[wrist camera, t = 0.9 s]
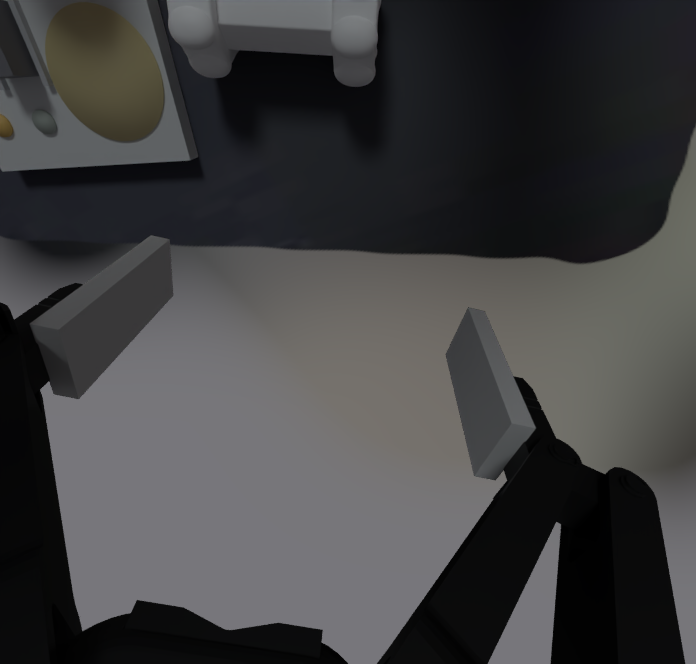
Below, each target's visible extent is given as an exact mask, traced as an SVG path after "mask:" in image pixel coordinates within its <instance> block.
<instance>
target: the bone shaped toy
mask: <svg viewBox="0 0 696 664" xmlns="http://www.w3.org/2000/svg"><path fill="white" fill-rule="evenodd" d="M167 6H168V14H169V19H168V27H169V31H170V33H171V35H172V37H173V39H174V40H175V41H176V42H177V43H178V44H180V45H181V47H182V48H183V50H184V52H185V53H186V55H187V57H188V59H189V62H190V65H191V67H192V68H193V69H194V70H195V71H196V72H197V73H199V74H201V75H203V76H205V77H209V78H222V77H225V76H226V75H228V74H229V73H230V70H231V68H232V62H233V60H234V58H235V56H236V54H237V53H238V52H239V50H246V51H262V52H279V53H295V54H312V55H328V56H333V63H334V74H335V77H336V78H337V80H338V81H339V82H341V83H342V84H344V85H347V86H351V87H361V86H365V85H367V84H369V83H370V82H371V81H372V80H373V79H374V77H375V73H376V69H375V65H374V64H375V58H376V56H377V47H376V46H377V42H378V33H377V27H378V14H379V9H380V6H381V0H167Z"/></svg>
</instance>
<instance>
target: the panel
mask: <svg viewBox="0 0 696 664" xmlns="http://www.w3.org/2000/svg"><path fill="white" fill-rule="evenodd" d="M197 157H198V153H197V149H196V145H195V141H194V138H193V134H192V130H191V126H190V122H189V119H188V115H187V111H186V107H185V103H184V99H183V96H182V92H181V88H180V84H179V80H178V76H177V73H176V69H175V65H174V61H173V57H172V54H171V50H170V46H169V42H168V38H167V34H166V31H165V27H164V23H163V19H162V15H161V12H160V8H159V4H158V0H0V168H1V170H2V171H18V170H35V169H52V168H69V167H86V166H103V165H120V164H137V163H154V162H172V161H189V160H192V159H195V158H197Z"/></svg>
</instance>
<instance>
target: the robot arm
mask: <svg viewBox="0 0 696 664" xmlns="http://www.w3.org/2000/svg"><path fill="white" fill-rule="evenodd" d="M172 296H173V285H172V269H171V254H170V240H169V239H165V238H160V237H156V236H150V237H148V238H147V239H145V240H144V241H143V242H141V243H140V244H139V245H137V246H136V247H134V248H133V249H132V250H130V251H129V252H128V253H126V254H125V255H123V256H122V257H121V258H119V259H118V260H117V261H115V262H114V263H112V264H111V265H110V266H108V267H107V268H106V269H104V270H103V271H101V272H100V273H99V274H97V275H96V276H95V277H93V278H92V279H90V280H89V281H88V282H86V283H85V284H84V285H83V284H78V283H74V284H71V285H68V286H66V287H63V288H60V289H58V290H57V291H55V292H54V293H52V294H51V295H50V296H48V298H45V299H44V300H42V301H41V302H39V304H38V305H35V306H33V307H32V308H31V309H29V310H28V311H27V312H25V313H23V314H22V315H21V316H19V317H18V318H16V319H15V320H14V319H13V316H12V314H11V311H10V309H9V308H8V306H7V305H5V304H3V303H0V664H348V663H347V662H346V661H345V660H344V659H343V658H342V657H341V656H340V655H339V654H338V653H337V652H335V651H334V650H333V649H331V648H330V647H329V646H327V645H325V644H323V643H321V641H322V631H323V630H320V629H313V628H307V627H301V626H294V625H289V624H282V623H274V624H268V625H261V626H255V627H249V628H242V629H237V630H225V629H223V628H221V627H218V626H217V625H215V624H213V623H211V622H210V621H208V620H206V619H204V618H202V617H200V616H198V615H196V614H194V613H193V612H191V611H189V610H187V609H185V608H182V607H176V606H170V605H164V604H158V603H152V602H146V601H139V600H137V601H136V603H135V606H134V608H133V610H132V612H131V613H130V614H124V615H121V616H117V617H113V618H110V619H108V620H105V621H103V622H100V623H98V624H96V625H94V626H92V627H90V628H88V629H86V630H84V631H82V627H81V623H80V619H79V616H78V612H77V609H76V606H75V601H74V597H73V591H72V584H71V579H70V571H69V565H68V558H67V552H66V546H65V539H64V533H63V526H62V520H61V513H60V507H59V500H58V494H57V488H56V481H55V475H54V468H53V462H52V455H51V449H50V442H49V437H48V430H47V423H46V417H45V411H44V404H43V398H42V394H41V392H40V389H41V388H42V387H43V386H44V385H45V384H46V383H47V382H48V381H49V382H50V385H51V387H52V390H53V393H54V394H55V395H60V396H66V397H71V398H76V399H79V398H80V397H81V396H82V395H83V394H84V393H85V392H86V390H87V389H88V388H89V387H90V386H91V385H92V384H93V383H94V382H95V381H96V380H97V379H98V377H99V376H100V375H101V374H102V373H103V372H104V371H105V370H106V369H107V368H108V366H109V365H110V364H111V363H112V362H113V361H114V360H115V359H116V358H117V356H118V355H119V354H120V353H121V352H122V351H123V350H124V349H125V348H126V347H127V346H128V345H129V343H130V342H131V341H132V340H133V339H134V338H135V337H136V336H137V335H138V334H139V332H140V331H141V330H142V329H143V328H144V327H145V326H146V325H147V324H148V323H149V321H150V320H151V319H152V318H153V317H154V316H155V315H156V314H157V313H158V311H159V310H160V309H161V308H162V307H163V306H164V305H165V304H166V303H167V302H168V301H169V299H170V298H171V297H172ZM446 358H447V362H448V366H449V371H450V375H451V379H452V383H453V387H454V392H455V396H456V401H457V404H458V409H459V413H460V418H461V422H462V426H463V431H464V435H465V439H466V443H467V447H468V452H469V456H470V460H471V464H472V469H473V473H474V476H476V477H481V478H487V479H492V480H496V479H497V478H498V477H499V475H500V474H501V473H502V471H503V470H504V472H505V475H506V478H507V482H506V483H505V484H504V485H503V487H502V488H501V489H500V490H499V491H498V493H497V494H496V495H495V496H494V498H493V501H492V502H491V504H490V505H489V507H488V508H487V509H486V511H485V512H484V514H483V515H482V516H481V518H480V519H479V521H478V522H477V523H476V525H475V526H474V528H473V529H472V531H471V532H470V533H469V535H468V536H467V538H466V539H465V540H464V542H463V543H462V545H461V546H460V548H459V549H458V551H457V552H456V553H455V555H454V556H453V558H452V559H451V560H450V562H449V563H448V565H447V566H446V567H445V569H444V571H443V572H442V573H441V575H440V576H439V578H438V579H437V580H436V582H435V583H434V585H433V586H432V588H431V589H430V590H429V592H428V593H427V595H426V596H425V597H424V599H423V600H422V602H421V603H420V605H419V606H418V607H417V609H416V610H415V612H414V613H413V614H412V616H411V617H410V619H409V620H408V622H407V623H406V625H405V626H404V627H403V629H402V630H401V631H400V633H399V634H398V636H397V637H396V639H395V640H394V641H393V643H392V644H391V646H390V647H389V648H388V650H387V651H386V653H385V654H384V655H383V656H382V658H381V659H380V660H379V662H378V663H377V664H488V662H489V659H490V657H491V656H492V653H493V651H494V649H495V647H496V645H497V643H498V641H499V639H500V637H501V635H502V633H503V631H504V629H505V626H506V625H507V622H508V620H509V618H510V616H511V614H512V612H513V610H514V608H515V606H516V604H517V602H518V600H519V597H520V595H521V593H522V591H523V589H524V587H525V585H526V583H527V581H528V579H529V577H530V575H531V573H532V571H533V569H534V567H535V565H536V563H537V560H538V558H539V556H540V554H541V552H542V550H543V548H544V546H545V544H546V542H547V540H548V538H549V536H550V534H551V532H552V529H553V527H554V525H555V523H556V522H558V523H560V524H561V535H560V548H559V560H558V561H559V562H558V574H557V587H556V600H555V613H554V627H553V640H552V653H551V654H552V655H551V664H685V660H684V654H683V648H682V642H681V637H680V631H679V625H678V620H677V614H676V608H675V602H674V597H673V591H672V585H671V579H670V575H669V568H668V563H667V557H666V551H665V545H664V539H663V534H662V528H661V522H660V517H659V511H658V505H657V500H656V497H655V495H654V492H653V491H652V490H651V488H650V487H649V486H648V485H647V483H646V482H645V481H644V480H642V479H641V478H640V477H639V476H637V475H636V474H634V473H633V472H631V471H629V470H626V469H623V468H618V467H614V468H612V469H610V470H609V471H608V472H607V473H606V474H603V473H600V472H598V471H596V470H594V469H592V468H590V467H587V466H585V465H583V464H582V462H581V460H580V457H579V456H578V454H577V453H576V452H575V451H574V450H573V449H572V448H571V447H570V446H569V445H568V444H566V443H564V442H563V441H561V440H559V439H556V437H555V435H554V433H553V431H552V428H551V426H550V424H549V422H548V420H547V418H546V416H545V414H544V412H543V410H541V406H540V404H539V402H538V401H537V397H536V395H535V393H534V391H533V389H532V388H531V387H530V386H529V385H528V383H527V382H526V381H525V380H524V379H523V378H519V377H514V376H513V375H512V372H511V370H510V368H509V366H508V363H507V361H506V359H505V356H504V354H503V352H502V350H501V348H500V345H499V343H498V341H497V338H496V336H495V334H494V331H493V329H492V327H491V325H490V322H489V320H488V318H487V316H486V313H485V311H482V310H477V309H472V308H469V307H468V309H467V311H466V313H465V315H464V318H463V319H462V322H461V324H460V326H459V328H458V330H457V332H456V334H455V336H454V338H453V341H452V342H451V344H450V347H449V349H448V351H447V353H446Z"/></svg>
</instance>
